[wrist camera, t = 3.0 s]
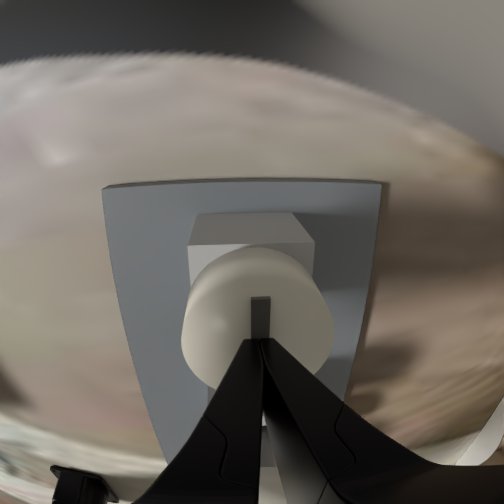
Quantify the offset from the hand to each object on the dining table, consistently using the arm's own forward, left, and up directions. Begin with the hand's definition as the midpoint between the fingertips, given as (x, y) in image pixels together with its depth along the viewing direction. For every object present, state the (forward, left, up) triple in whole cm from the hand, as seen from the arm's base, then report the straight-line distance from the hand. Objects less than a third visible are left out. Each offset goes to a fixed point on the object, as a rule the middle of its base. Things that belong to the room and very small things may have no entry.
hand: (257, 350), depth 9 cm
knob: (0, 0, -6) cm, 6 cm away
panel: (-8, 0, -8) cm, 11 cm away
